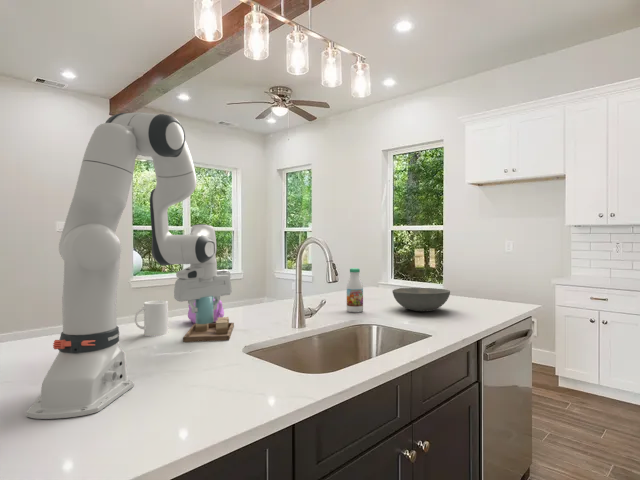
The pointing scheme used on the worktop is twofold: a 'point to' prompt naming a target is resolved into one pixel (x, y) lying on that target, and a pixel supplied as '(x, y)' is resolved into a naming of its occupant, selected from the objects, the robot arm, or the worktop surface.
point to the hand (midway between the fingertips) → (204, 311)
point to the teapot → (217, 313)
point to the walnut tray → (207, 334)
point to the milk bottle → (354, 292)
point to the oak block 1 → (201, 327)
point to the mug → (154, 318)
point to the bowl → (421, 298)
